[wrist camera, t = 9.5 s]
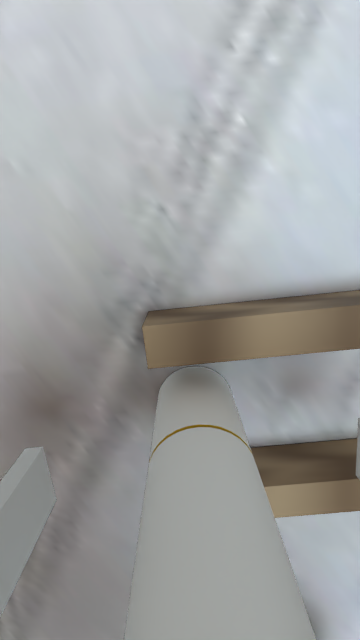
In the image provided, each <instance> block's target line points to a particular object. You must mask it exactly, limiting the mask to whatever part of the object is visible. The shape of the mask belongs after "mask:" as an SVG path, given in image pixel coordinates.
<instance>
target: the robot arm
mask: <svg viewBox="0 0 360 640" xmlns="http://www.w3.org/2000/svg"><path fill="white" fill-rule="evenodd" d="M356 476H357V477H358V478H359V480H360V418H358V436H357V456H356ZM56 500H57V499H56V496H55V492H54V488H53V484H52V480H51V476H50V472H49V468H48V464H47V460H46V456H45V452H44V448H43V447H34V448H25V449H24V451H23V452H22V453H21V455H20V456H19V457H18V459H17V460H16V461H15V463H14V464H13V465H12V467H11V468H10V469H9V471H8V472H7V473H6V475H5V476H4V477H3V479H2V480H1V481H0V618H1V615H2V613H3V611H4V609H5V607H6V605H7V603H8V601H9V599H10V597H11V595H12V592H13V590H14V588H15V586H16V584H17V582H18V580H19V578H20V576H21V574H22V572H23V569H24V567H25V565H26V563H27V561H28V559H29V557H30V555H31V553H32V551H33V549H34V546H35V544H36V542H37V540H38V538H39V536H40V534H41V532H42V530H43V528H44V526H45V523H46V521H47V519H48V517H49V515H50V513H51V511H52V509H53V507H54V505H55V503H56Z"/></svg>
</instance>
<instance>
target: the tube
mask: <svg viewBox="0 0 360 640" xmlns="http://www.w3.org/2000/svg"><path fill="white" fill-rule="evenodd" d="M124 640H316V637H315V634H314V631H313V628H312V626H311V623H310V620H309V617H308V614H307V611H306V608H305V605H304V602H303V599H302V596H301V593H300V591H299V588H298V585H297V582H296V579H295V576H294V573H293V570H292V567H291V564H290V561H289V558H288V556H287V553H286V550H285V547H284V544H283V541H282V538H281V535H280V532H279V529H278V526H277V523H276V521H275V518H274V515H273V512H272V509H271V506H270V503H269V500H268V497H267V494H266V491H265V489H264V486H263V483H262V480H261V477H260V474H259V471H258V469H257V466H256V463H255V460H254V457H253V454H252V451H251V448H250V445H249V442H248V439H247V437H246V434H245V431H244V428H243V425H242V422H241V419H240V416H239V413H238V410H237V407H236V404H235V401H234V398H233V396H232V393H231V390H230V387H229V385H228V383H227V382H226V380H225V379H224V378H223V377H222V376H221V375H220V374H218V373H217V372H215V371H214V370H211V369H209V368H206V367H200V366H191V367H185V368H182V369H179V370H177V371H176V372H174V373H172V374H171V375H170V376H169V377H168V378H167V379H166V380H165V381H164V383H163V384H162V386H161V388H160V390H159V395H158V401H157V408H156V415H155V422H154V429H153V437H152V444H151V451H150V458H149V465H148V472H147V479H146V486H145V493H144V500H143V507H142V514H141V521H140V528H139V535H138V542H137V549H136V556H135V563H134V570H133V577H132V585H131V592H130V599H129V606H128V613H127V620H126V627H125V634H124Z"/></svg>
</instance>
